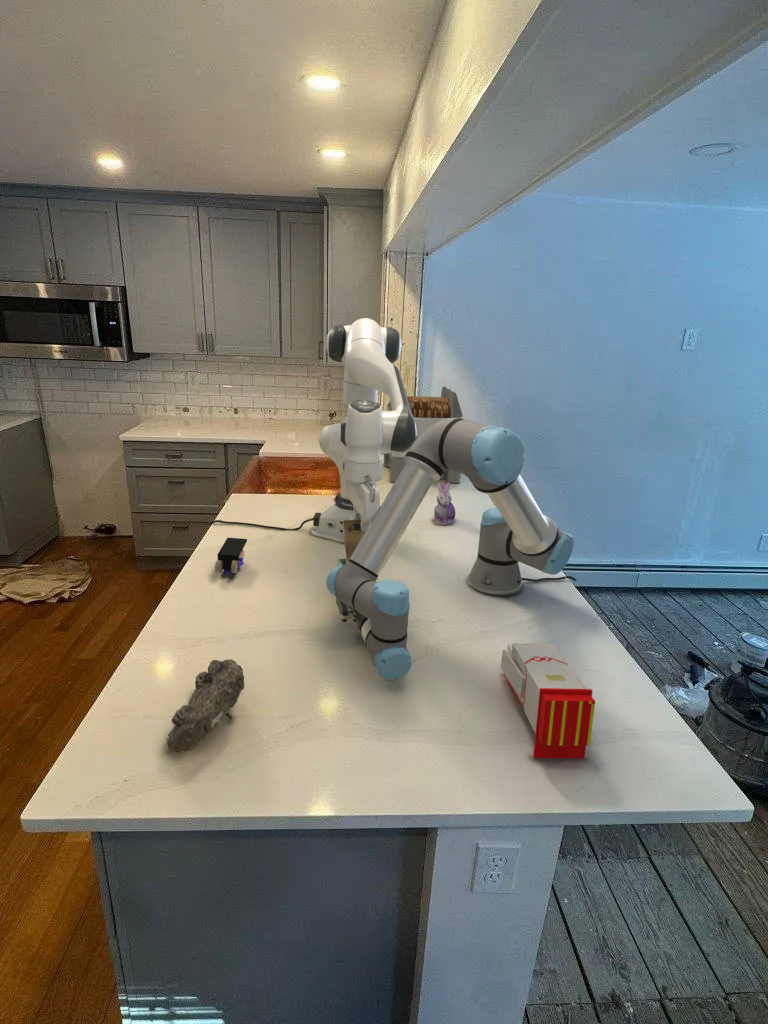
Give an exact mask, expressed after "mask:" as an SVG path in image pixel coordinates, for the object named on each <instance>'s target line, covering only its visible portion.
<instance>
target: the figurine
mask: <svg viewBox="0 0 768 1024" xmlns="http://www.w3.org/2000/svg"><path fill="white" fill-rule="evenodd" d="M437 485H438V494H437V496H436V502H437V504H436V506H435V507H434V510H433V513H434V514H433V522H434V523H435V525H439V526H446V525H451V524H453V523H454V522H455V518H456V509H455V506H454V505H453V503H452V499H453V498H452V495H451V493H450V489H451V483H449V482H447V483H446V484H445V486H444V485H443V484H442V483H441V482H438V484H437Z"/></svg>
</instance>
